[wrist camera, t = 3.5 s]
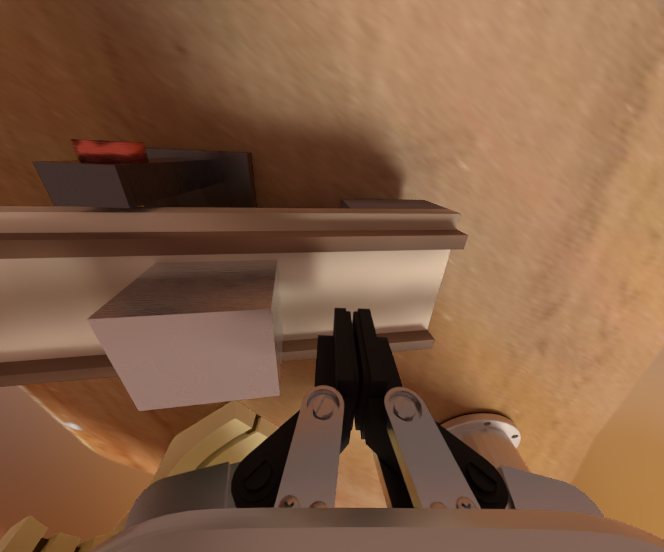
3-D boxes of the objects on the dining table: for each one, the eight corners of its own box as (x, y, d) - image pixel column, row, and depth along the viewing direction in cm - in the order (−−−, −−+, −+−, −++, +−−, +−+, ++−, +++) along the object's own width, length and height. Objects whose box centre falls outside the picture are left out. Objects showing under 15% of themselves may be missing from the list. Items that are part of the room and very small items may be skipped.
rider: (282, 331, 15) (279, 395, 11) (181, 338, 14) (138, 411, 10) (277, 259, 13) (271, 309, 9) (155, 263, 12) (86, 319, 8)
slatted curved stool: (105, 416, 31) (-128, 690, 15) (175, 362, 26) (-55, 675, 11) (269, 494, 42) (233, 699, 26) (339, 465, 37) (346, 693, 22)
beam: (399, 313, 21) (432, 363, 16) (-64, 343, 16) (-221, 428, 11) (424, 200, 17) (480, 220, 12) (-216, 191, 12) (-601, 222, 7)
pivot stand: (269, 322, 24) (239, 408, 16) (189, 320, 24) (118, 406, 16) (250, 148, 16) (176, 143, 8) (134, 142, 16) (-53, 133, 8)
